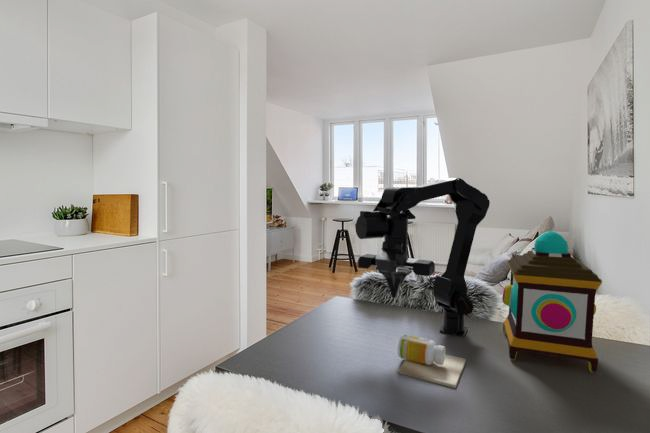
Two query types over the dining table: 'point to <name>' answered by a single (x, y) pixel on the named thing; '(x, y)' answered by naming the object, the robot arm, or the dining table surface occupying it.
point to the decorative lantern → (551, 302)
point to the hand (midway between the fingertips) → (394, 297)
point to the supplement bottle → (420, 350)
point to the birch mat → (436, 370)
